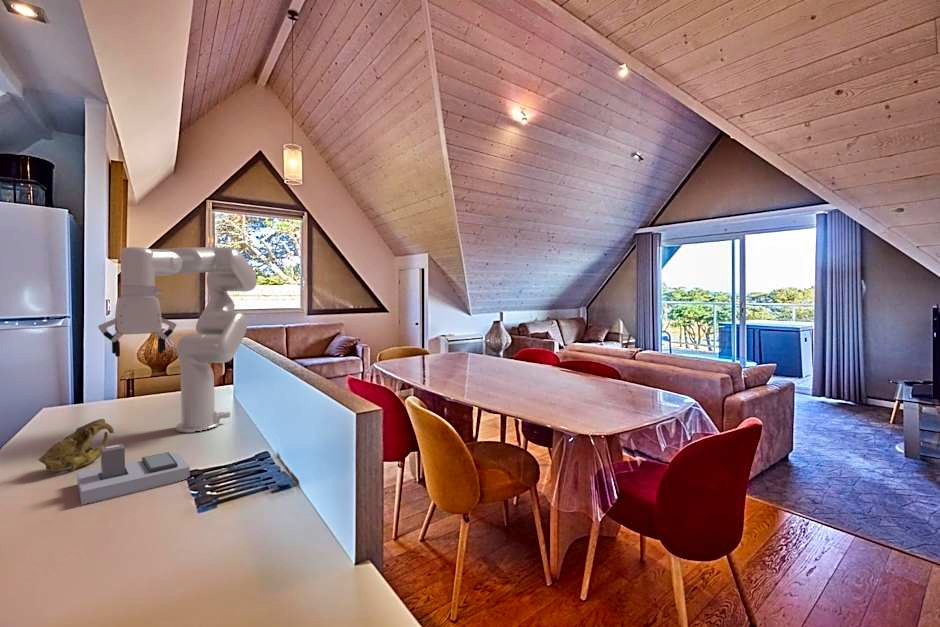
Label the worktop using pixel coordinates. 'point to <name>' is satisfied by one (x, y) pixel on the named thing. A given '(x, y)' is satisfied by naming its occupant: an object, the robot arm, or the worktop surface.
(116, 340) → the robot arm
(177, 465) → the dock board
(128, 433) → the worktop surface
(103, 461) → the block
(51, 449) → the animal skull
